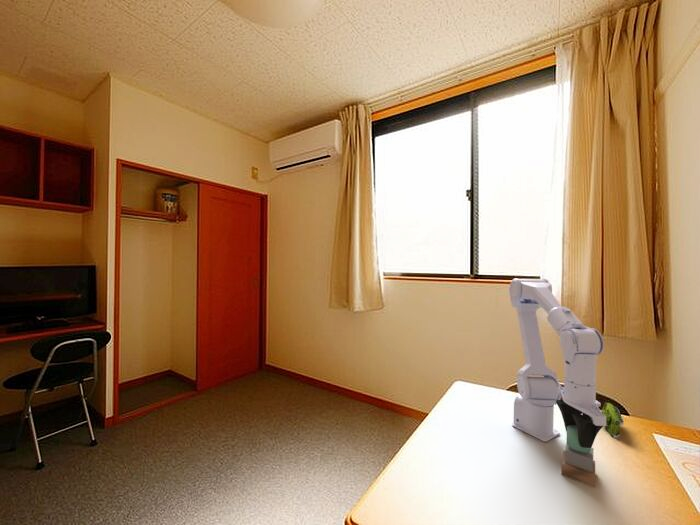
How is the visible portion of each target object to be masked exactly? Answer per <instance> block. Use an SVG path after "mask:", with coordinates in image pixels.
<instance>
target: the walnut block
mask: <svg viewBox="0 0 700 525" xmlns="http://www.w3.org/2000/svg"><path fill="white" fill-rule="evenodd" d="M560 465H561V466H560V467H561V471H560V472H561V474H560V475H561V476H563V477H566V478H569V479H571V480H574V481H576V482H580V483H582V484H584V485H587V486H590V487H591V488H596V460H594V459H593V473H592V472H589V471H586V470H584V469H581V468H578V467H575V466H572V465H570V464H567V463H565V450H563V452H562V459H561V464H560Z"/></svg>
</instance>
